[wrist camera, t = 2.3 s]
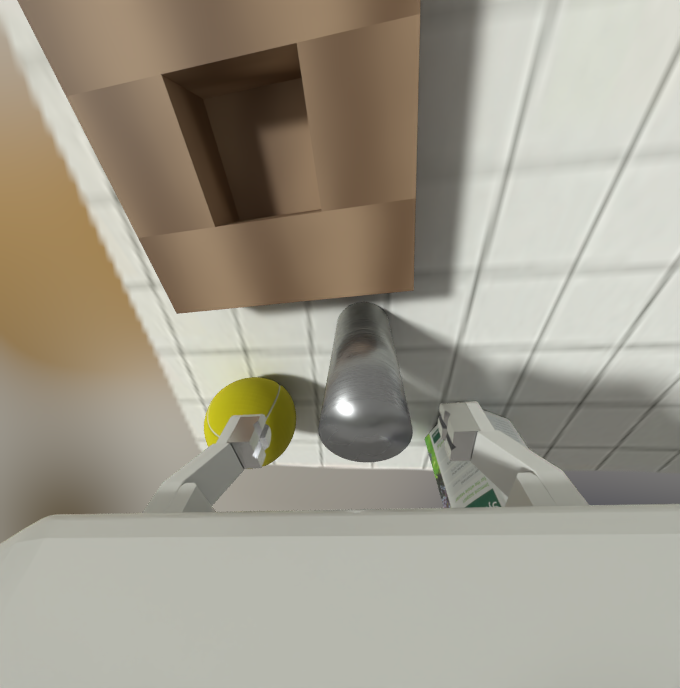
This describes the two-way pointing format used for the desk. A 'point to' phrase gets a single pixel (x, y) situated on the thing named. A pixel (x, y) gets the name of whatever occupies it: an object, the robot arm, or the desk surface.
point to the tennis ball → (254, 411)
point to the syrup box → (466, 472)
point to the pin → (364, 389)
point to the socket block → (251, 138)
